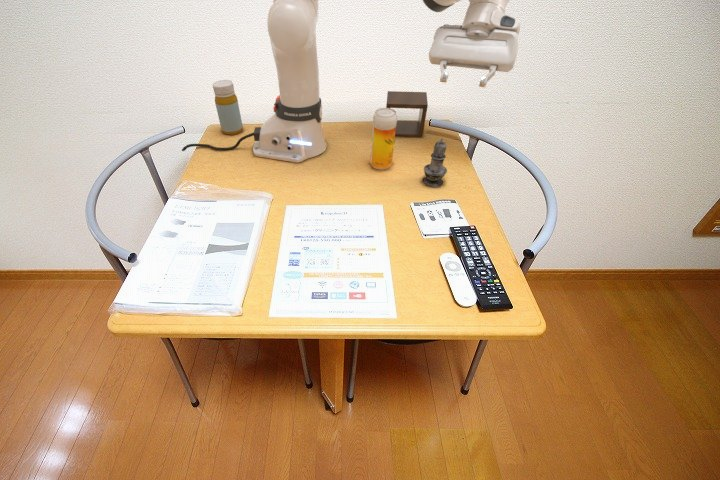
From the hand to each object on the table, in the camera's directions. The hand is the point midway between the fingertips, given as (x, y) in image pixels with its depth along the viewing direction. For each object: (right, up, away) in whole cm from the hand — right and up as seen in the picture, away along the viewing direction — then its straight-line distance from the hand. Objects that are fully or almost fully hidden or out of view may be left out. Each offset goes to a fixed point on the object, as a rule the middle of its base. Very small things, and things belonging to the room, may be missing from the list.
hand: (462, 83), depth 89 cm
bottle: (-64, 0, +33) cm, 72 cm away
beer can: (-18, -16, +14) cm, 28 cm away
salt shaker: (-5, -23, +7) cm, 24 cm away
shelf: (-8, 0, +29) cm, 30 cm away
